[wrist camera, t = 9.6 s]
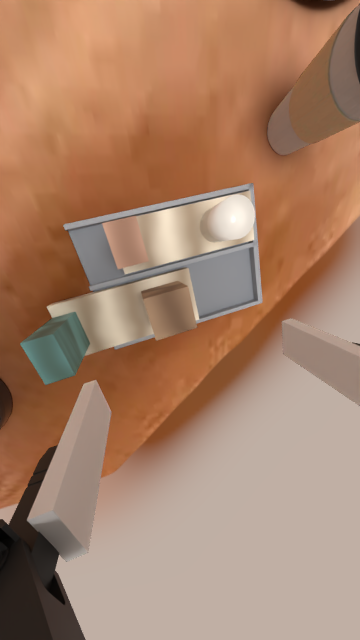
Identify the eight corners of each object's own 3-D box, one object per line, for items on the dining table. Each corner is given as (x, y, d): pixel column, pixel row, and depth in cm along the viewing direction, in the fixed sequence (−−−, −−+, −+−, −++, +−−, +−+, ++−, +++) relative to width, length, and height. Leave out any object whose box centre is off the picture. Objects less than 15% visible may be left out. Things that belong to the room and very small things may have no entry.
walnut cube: (151, 325, 29) (156, 340, 24) (140, 291, 27) (143, 299, 22) (186, 315, 30) (197, 327, 25) (177, 280, 28) (188, 286, 23)
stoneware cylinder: (203, 245, 27) (221, 243, 22) (197, 211, 25) (215, 199, 20) (231, 238, 28) (256, 234, 22) (227, 204, 26) (253, 190, 21)
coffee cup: (301, 175, 30) (444, 108, 16) (248, 160, 28) (364, 67, 14) (320, 98, 27) (512, -62, 14) (264, 74, 25) (428, -149, 11)
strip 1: (125, 273, 28) (122, 281, 18) (109, 225, 25) (96, 207, 16) (246, 240, 30) (297, 234, 21) (242, 194, 28) (296, 165, 19)
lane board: (115, 344, 32) (115, 349, 30) (68, 226, 25) (62, 224, 23) (255, 300, 35) (262, 302, 33) (245, 187, 29) (253, 183, 27)
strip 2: (77, 352, 30) (52, 396, 20) (52, 303, 27) (10, 328, 17) (195, 315, 32) (221, 339, 23) (184, 267, 29) (209, 272, 20)
